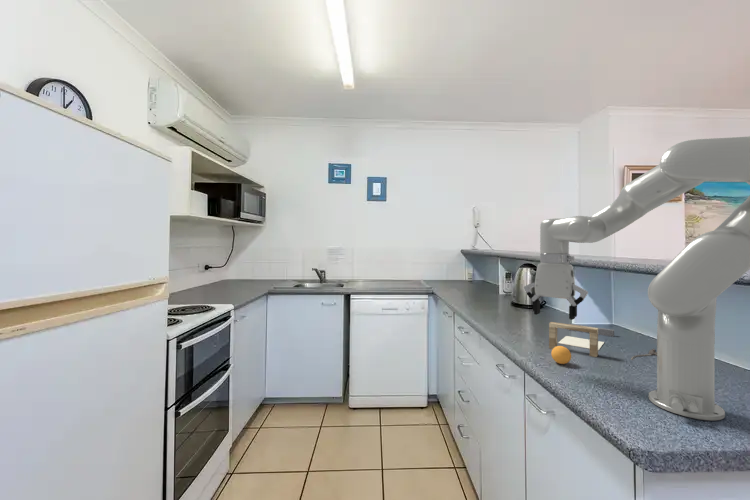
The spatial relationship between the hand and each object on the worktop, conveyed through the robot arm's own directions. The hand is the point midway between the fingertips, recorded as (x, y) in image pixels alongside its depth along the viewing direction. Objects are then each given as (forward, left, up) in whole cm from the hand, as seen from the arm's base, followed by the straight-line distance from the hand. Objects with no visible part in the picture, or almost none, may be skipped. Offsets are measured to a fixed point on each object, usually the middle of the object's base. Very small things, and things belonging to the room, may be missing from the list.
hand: (553, 316), depth 96 cm
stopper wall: (+57, 0, -16) cm, 60 cm away
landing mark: (+37, 0, -16) cm, 41 cm away
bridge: (+23, 0, -16) cm, 28 cm away
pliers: (+35, -20, -17) cm, 44 cm away
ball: (+7, 0, -14) cm, 15 cm away
